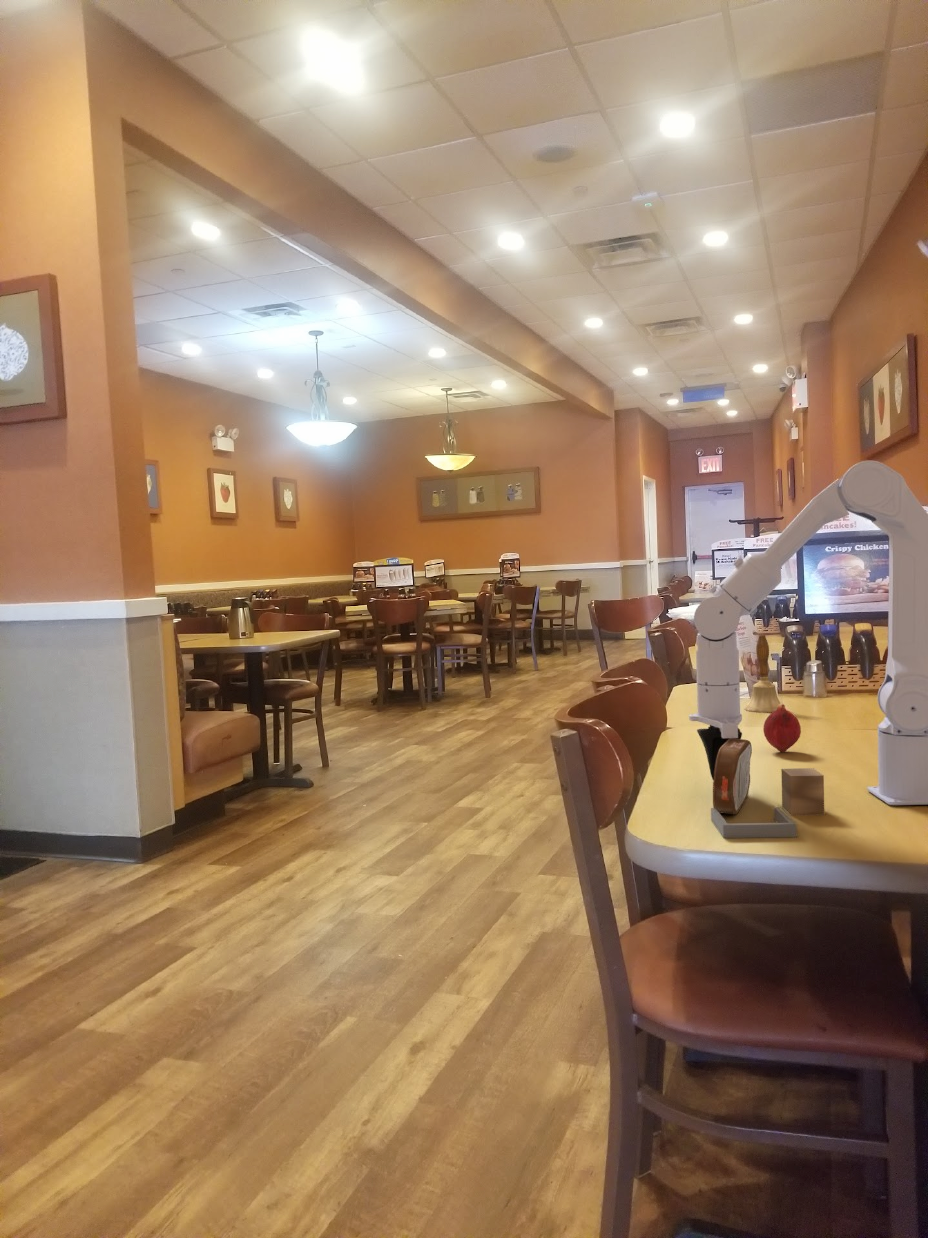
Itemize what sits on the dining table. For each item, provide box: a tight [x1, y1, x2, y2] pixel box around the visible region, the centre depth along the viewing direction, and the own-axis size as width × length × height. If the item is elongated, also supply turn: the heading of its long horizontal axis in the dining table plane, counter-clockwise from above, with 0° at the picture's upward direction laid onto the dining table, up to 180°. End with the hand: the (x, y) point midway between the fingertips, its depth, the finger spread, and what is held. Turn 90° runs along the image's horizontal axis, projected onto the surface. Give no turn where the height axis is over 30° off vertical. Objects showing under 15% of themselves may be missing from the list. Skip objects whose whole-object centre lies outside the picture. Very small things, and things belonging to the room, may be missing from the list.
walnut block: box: [781, 767, 825, 816], centre depth 112 cm, size 4×4×5 cm
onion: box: [762, 703, 802, 753], centre depth 146 cm, size 6×6×8 cm
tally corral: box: [710, 806, 797, 839], centre depth 105 cm, size 8×7×2 cm
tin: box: [712, 738, 753, 815], centre depth 115 cm, size 15×3×8 cm, turn 154°
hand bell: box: [744, 634, 782, 714], centre depth 188 cm, size 8×8×16 cm
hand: (720, 780), depth 123 cm, fingers closed
